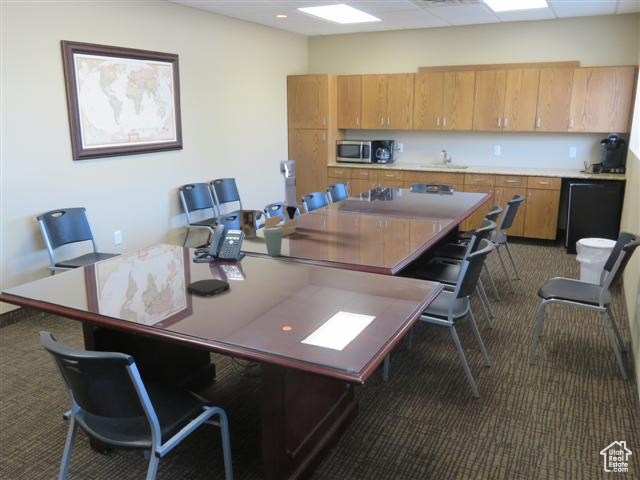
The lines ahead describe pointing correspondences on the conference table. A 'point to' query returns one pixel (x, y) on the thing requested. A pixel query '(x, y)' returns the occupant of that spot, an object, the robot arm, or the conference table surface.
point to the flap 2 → (290, 224)
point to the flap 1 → (273, 220)
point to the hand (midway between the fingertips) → (291, 219)
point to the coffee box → (248, 223)
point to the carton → (288, 231)
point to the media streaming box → (208, 287)
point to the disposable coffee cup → (273, 239)
